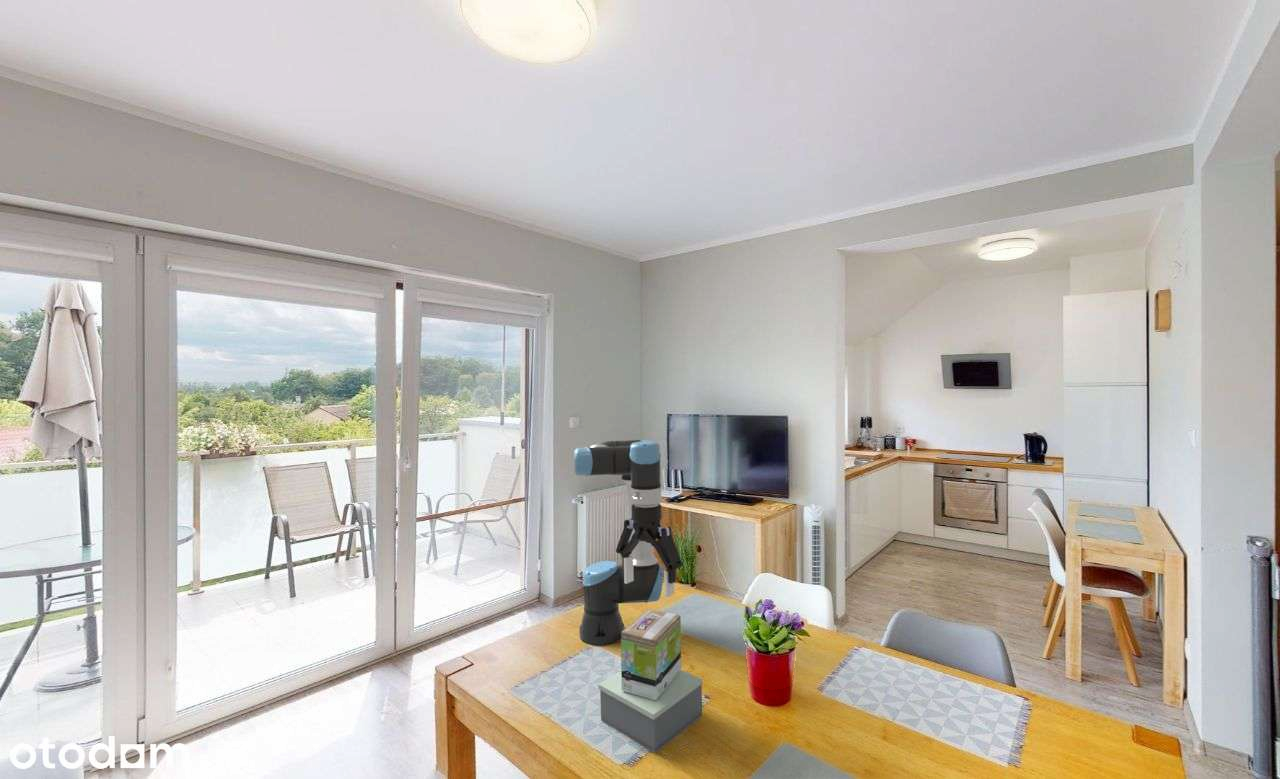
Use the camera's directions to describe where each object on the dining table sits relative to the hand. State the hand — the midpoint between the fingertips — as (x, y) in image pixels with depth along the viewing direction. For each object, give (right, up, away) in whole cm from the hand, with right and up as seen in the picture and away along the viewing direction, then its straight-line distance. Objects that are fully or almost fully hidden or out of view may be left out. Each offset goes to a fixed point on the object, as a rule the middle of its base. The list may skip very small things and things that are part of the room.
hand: (648, 588), depth 132 cm
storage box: (+1, -33, 0) cm, 33 cm away
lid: (+1, -25, 0) cm, 24 cm away
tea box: (+1, -24, 0) cm, 24 cm away
